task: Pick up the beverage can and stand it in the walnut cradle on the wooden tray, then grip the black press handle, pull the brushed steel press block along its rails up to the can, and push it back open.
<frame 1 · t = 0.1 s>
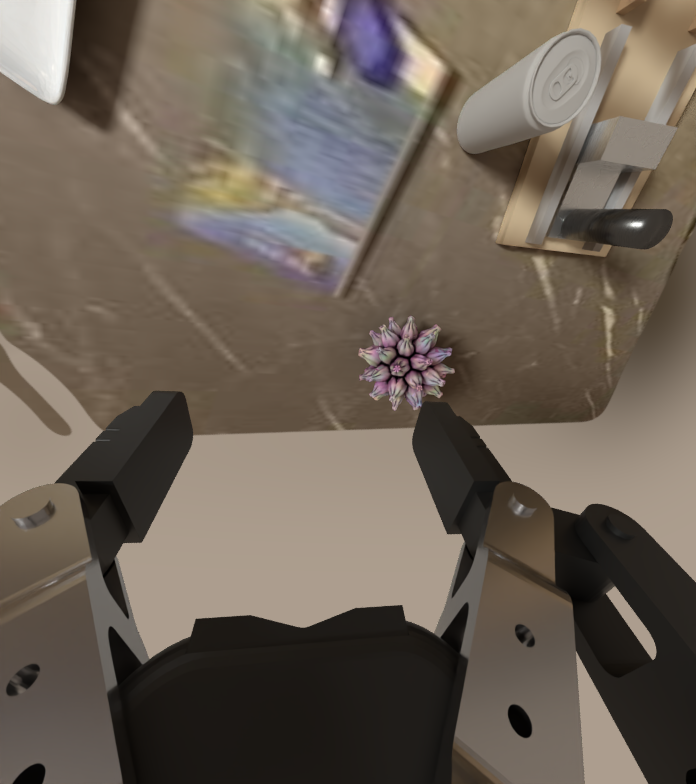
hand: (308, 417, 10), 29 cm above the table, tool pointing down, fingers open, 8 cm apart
beverage can: (477, 125, 29), on the table
flower: (393, 344, 41), on the table
wooden tray: (605, 113, 29), on the table
press block: (625, 187, 27), point 7 cm above the table, slide at 0.0 cm
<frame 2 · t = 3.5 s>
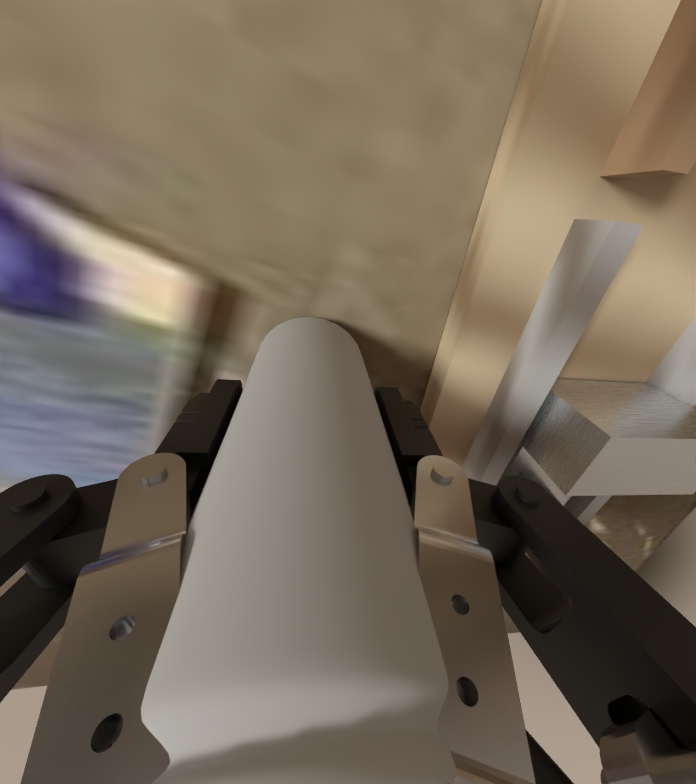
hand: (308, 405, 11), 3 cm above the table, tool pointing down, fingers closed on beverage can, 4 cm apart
beverage can: (310, 361, 14), on the table, touching gripper
wooden tray: (582, 331, 14), on the table
press block: (624, 541, 12), point 7 cm above the table, slide at 0.0 cm
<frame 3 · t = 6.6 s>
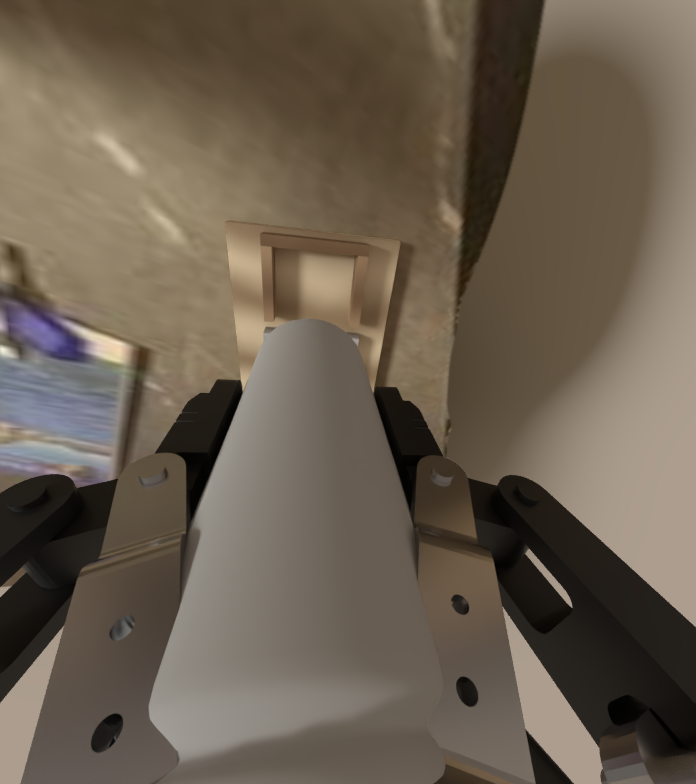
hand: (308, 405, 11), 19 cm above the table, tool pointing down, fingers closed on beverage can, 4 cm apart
beverage can: (310, 362, 14), point 16 cm above the table, touching gripper
wooden tray: (310, 363, 31), on the table
when the fingers open (6 cm above the table, at t = 9.5 s): beverage can stays where it is, resting on wooden tray.
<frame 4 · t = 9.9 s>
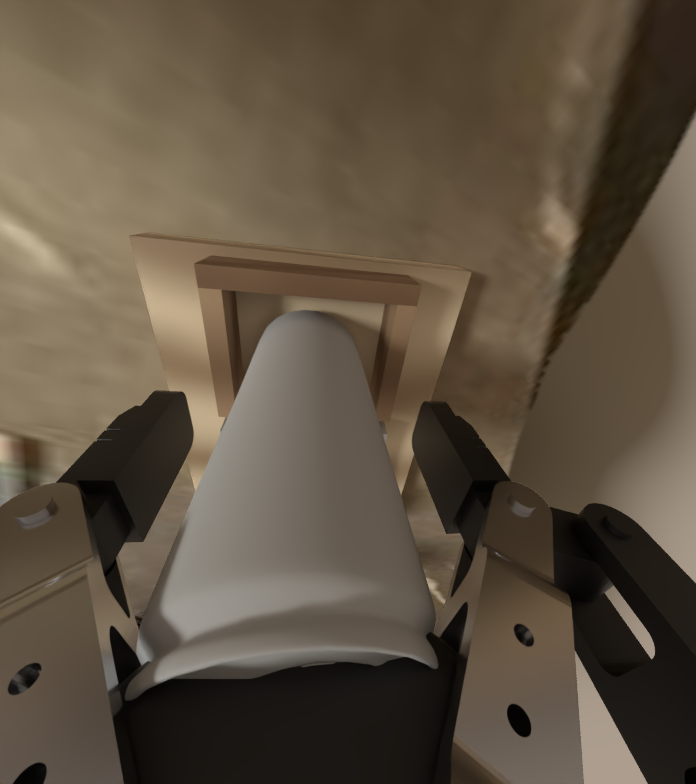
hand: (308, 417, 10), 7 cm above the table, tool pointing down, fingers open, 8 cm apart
beverage can: (308, 352, 14), point 1 cm above the table, touching wooden tray
wooden tray: (305, 451, 20), on the table
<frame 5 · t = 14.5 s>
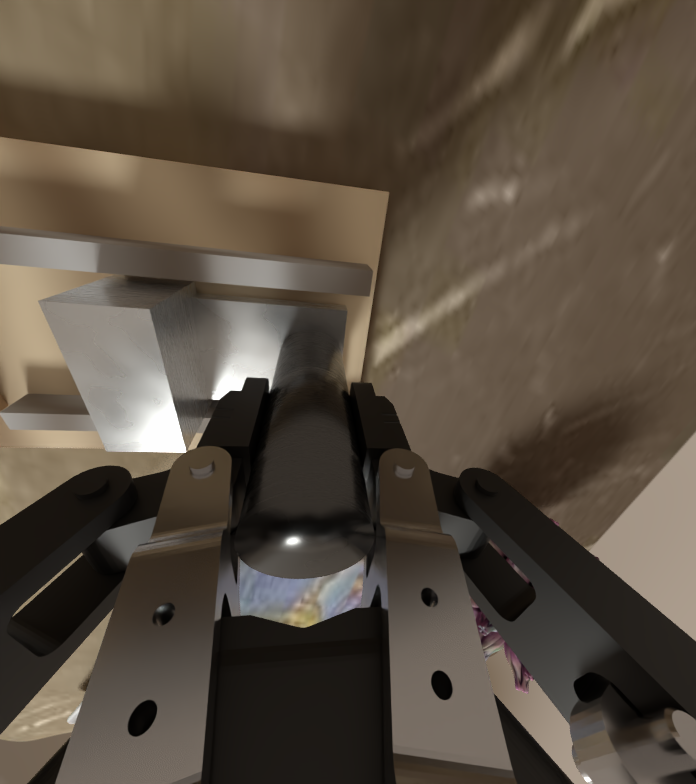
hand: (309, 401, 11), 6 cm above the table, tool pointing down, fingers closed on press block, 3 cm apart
flower: (480, 516, 28), on the table
wooden tray: (118, 326, 15), on the table
press block: (214, 407, 10), point 7 cm above the table, slide at 0.0 cm, touching gripper
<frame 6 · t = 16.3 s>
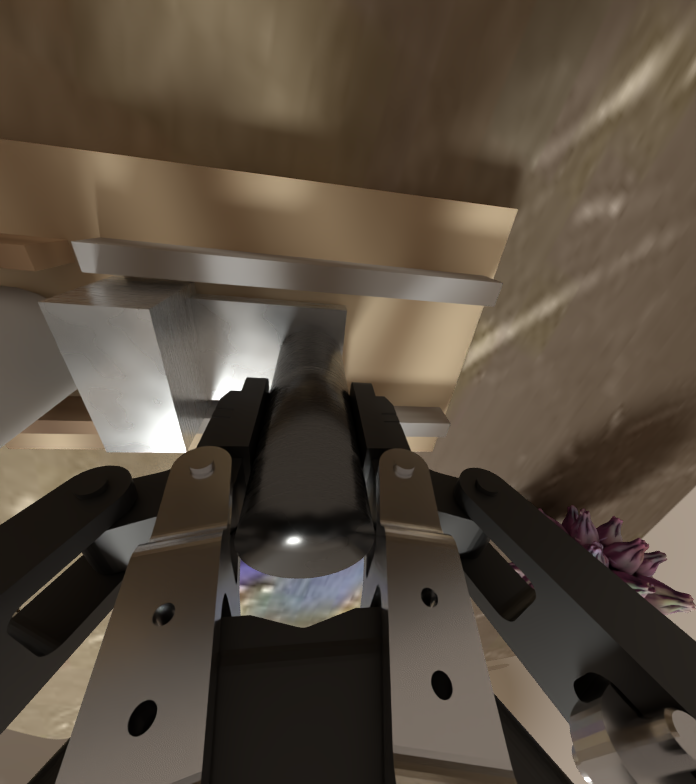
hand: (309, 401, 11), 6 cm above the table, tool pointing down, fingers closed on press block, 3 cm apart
beverage can: (47, 335, 13), point 1 cm above the table, touching wooden tray
flower: (534, 514, 28), on the table
wooden tray: (234, 334, 15), on the table
press block: (214, 407, 10), point 7 cm above the table, slide at 5.6 cm, touching gripper
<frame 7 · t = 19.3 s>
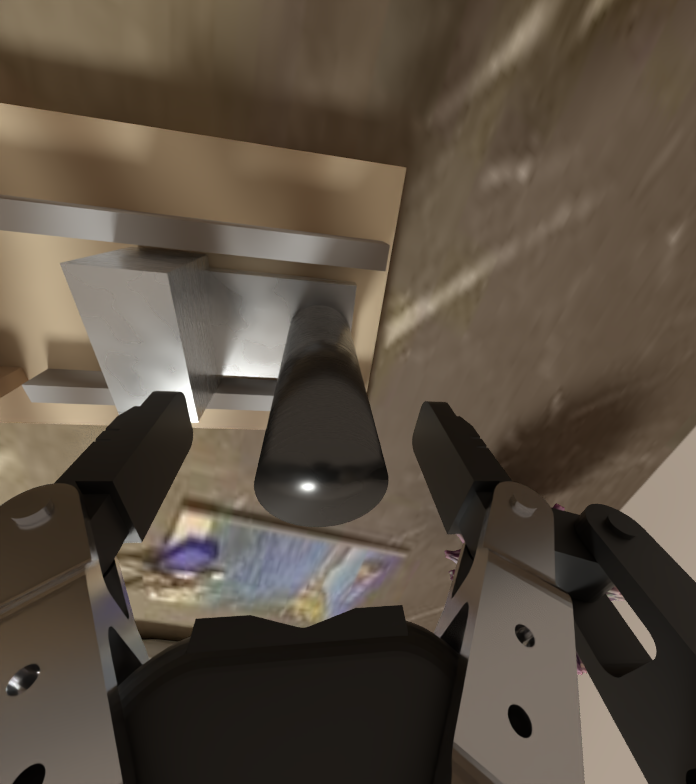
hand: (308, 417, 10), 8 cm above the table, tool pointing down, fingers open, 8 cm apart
flower: (486, 503, 28), on the table
wooden tray: (136, 303, 15), on the table
press block: (228, 373, 10), point 7 cm above the table, slide at 0.3 cm
salad plate: (184, 658, 43), on the table
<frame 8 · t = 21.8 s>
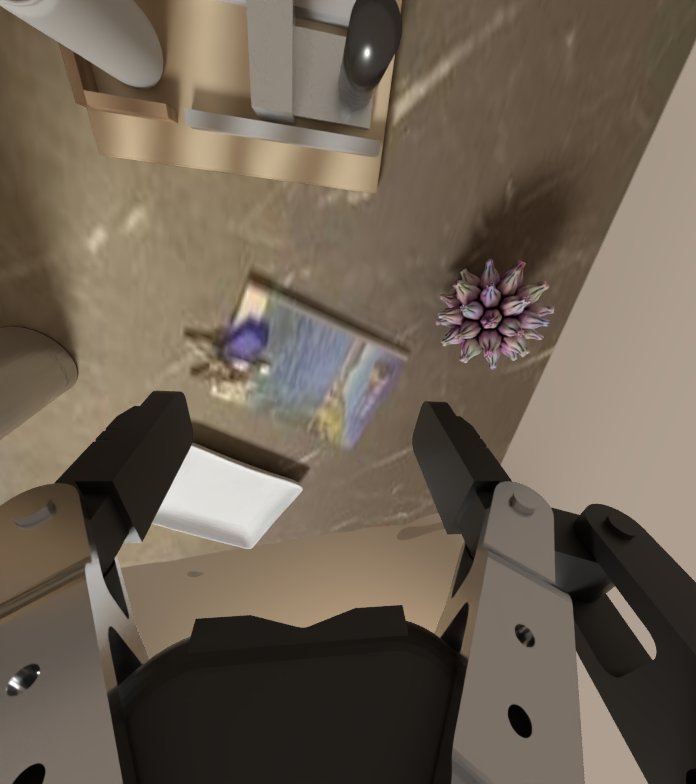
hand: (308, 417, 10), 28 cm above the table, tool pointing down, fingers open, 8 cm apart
beverage can: (134, 50, 23), point 1 cm above the table, touching wooden tray
flower: (466, 300, 38), on the table
wooden tray: (244, 74, 25), on the table
press block: (317, 55, 20), point 7 cm above the table, slide at 0.3 cm
salad plate: (225, 488, 53), on the table
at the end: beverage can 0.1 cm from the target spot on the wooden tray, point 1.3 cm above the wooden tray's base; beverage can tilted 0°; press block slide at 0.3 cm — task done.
